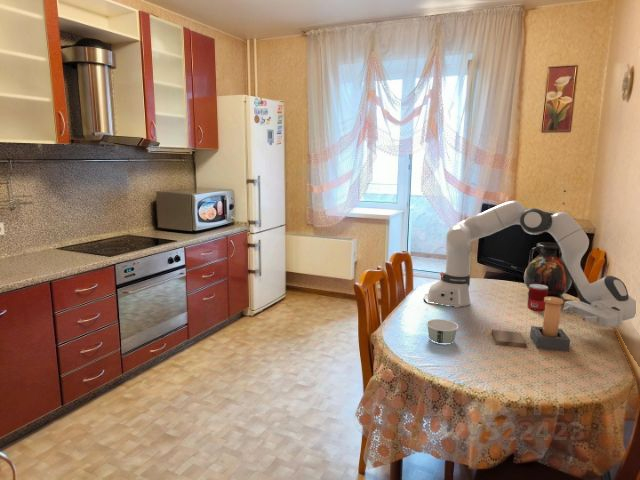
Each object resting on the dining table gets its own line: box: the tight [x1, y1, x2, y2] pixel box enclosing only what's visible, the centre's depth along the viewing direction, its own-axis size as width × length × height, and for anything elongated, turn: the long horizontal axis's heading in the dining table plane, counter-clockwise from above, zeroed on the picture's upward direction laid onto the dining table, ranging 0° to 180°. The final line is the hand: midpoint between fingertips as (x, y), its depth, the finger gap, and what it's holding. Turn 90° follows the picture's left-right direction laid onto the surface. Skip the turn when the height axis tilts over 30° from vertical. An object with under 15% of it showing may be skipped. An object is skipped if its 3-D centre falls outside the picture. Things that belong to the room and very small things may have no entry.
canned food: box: [527, 284, 548, 312], centre depth 206 cm, size 8×8×11 cm
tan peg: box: [542, 297, 564, 337], centre depth 165 cm, size 6×6×18 cm
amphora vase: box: [523, 242, 573, 300], centre depth 219 cm, size 22×22×28 cm
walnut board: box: [491, 329, 528, 348], centre depth 170 cm, size 11×11×2 cm
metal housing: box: [529, 326, 571, 352], centre depth 166 cm, size 11×11×4 cm
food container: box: [426, 318, 459, 343], centre depth 169 cm, size 12×12×6 cm
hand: (574, 314), depth 168 cm, fingers open, 8 cm apart
